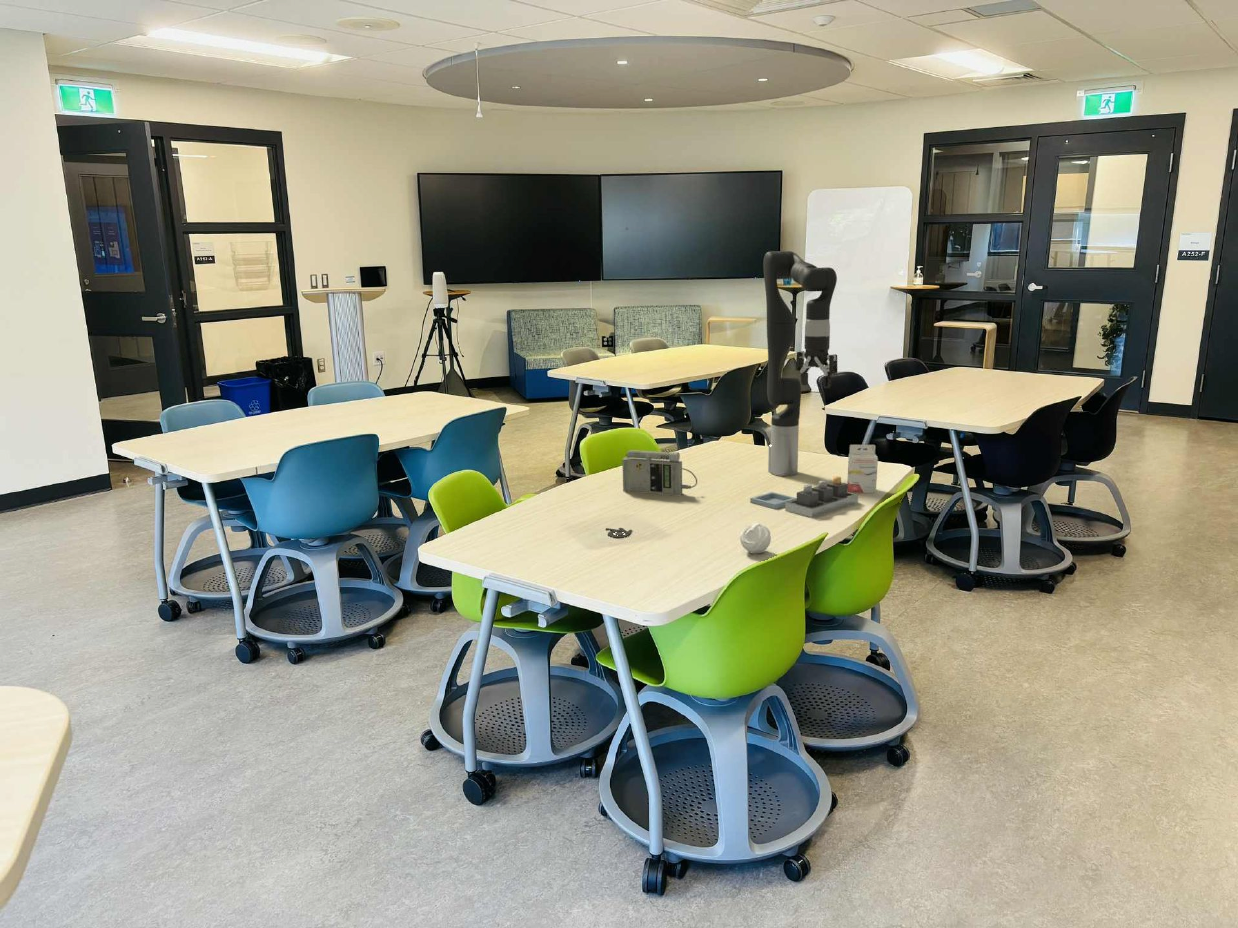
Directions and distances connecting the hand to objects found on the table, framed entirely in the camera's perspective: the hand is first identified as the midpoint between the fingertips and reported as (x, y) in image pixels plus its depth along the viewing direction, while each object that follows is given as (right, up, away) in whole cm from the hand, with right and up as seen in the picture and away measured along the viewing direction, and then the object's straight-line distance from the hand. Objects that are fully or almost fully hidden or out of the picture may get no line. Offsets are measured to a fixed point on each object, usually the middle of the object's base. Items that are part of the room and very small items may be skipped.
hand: (815, 386), depth 281 cm
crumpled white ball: (-26, -47, -46) cm, 71 cm away
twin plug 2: (0, -37, -9) cm, 38 cm away
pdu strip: (0, -37, -9) cm, 38 cm away
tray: (-14, -36, -4) cm, 39 cm away
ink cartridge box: (+16, -33, +8) cm, 38 cm away
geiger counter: (-48, -34, +12) cm, 60 cm away
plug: (+5, -36, -5) cm, 37 cm away
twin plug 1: (-5, -38, -13) cm, 41 cm away
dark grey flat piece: (-63, -44, -25) cm, 80 cm away
